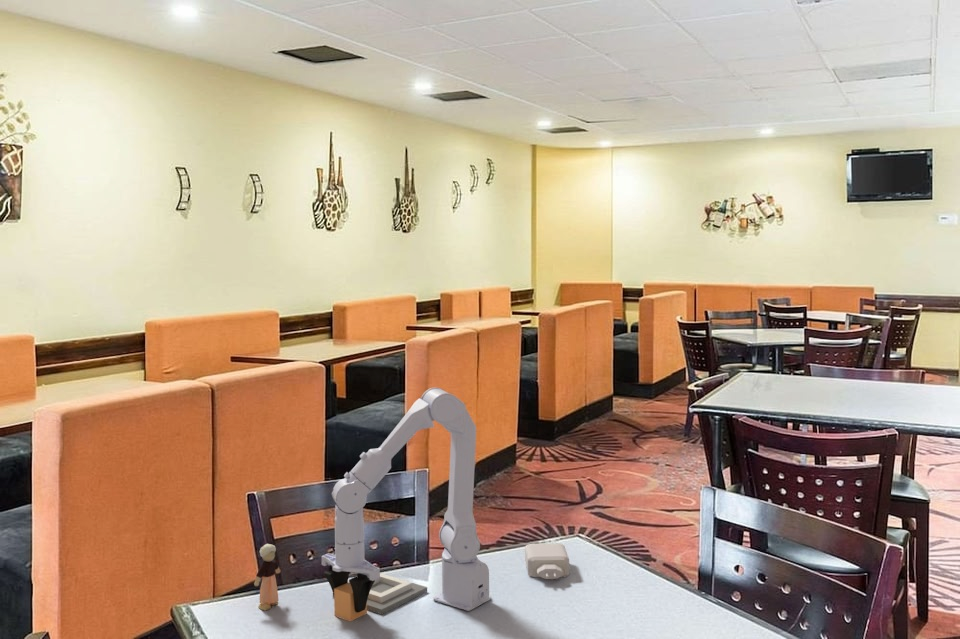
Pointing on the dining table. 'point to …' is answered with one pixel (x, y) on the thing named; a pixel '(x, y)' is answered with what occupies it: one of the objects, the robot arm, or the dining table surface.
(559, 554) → the charger
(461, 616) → the dining table surface
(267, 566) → the grandmother figurine
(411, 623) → the dining table surface
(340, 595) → the block
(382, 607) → the socket plate
